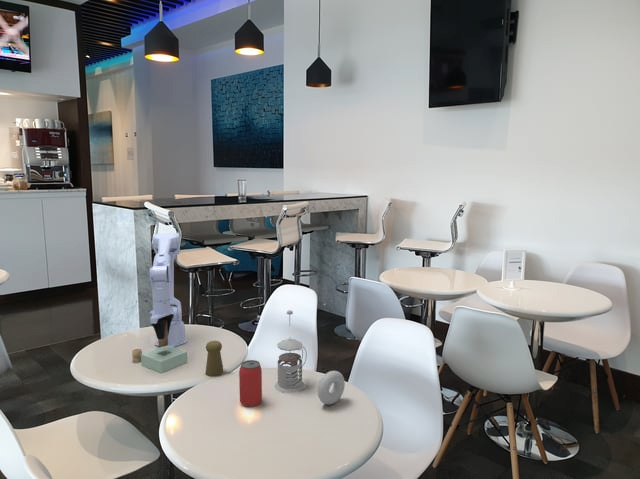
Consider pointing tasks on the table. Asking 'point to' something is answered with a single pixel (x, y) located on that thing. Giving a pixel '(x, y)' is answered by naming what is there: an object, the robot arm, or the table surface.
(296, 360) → the french press
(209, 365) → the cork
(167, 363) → the collar block
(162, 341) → the long pin
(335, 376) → the donut
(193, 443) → the table surface
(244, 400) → the beer can
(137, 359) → the short pin
